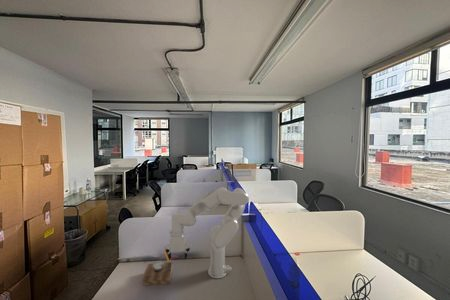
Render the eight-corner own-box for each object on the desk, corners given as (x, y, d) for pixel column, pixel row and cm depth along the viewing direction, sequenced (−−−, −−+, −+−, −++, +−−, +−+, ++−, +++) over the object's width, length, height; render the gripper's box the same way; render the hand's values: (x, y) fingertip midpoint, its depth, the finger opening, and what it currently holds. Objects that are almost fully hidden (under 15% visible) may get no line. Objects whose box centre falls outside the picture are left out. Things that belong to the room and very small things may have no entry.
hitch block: (172, 271, 142) (172, 255, 141) (170, 283, 130) (170, 266, 129) (147, 272, 140) (147, 256, 139) (143, 285, 128) (142, 268, 127)
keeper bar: (169, 261, 137) (171, 260, 137) (168, 264, 134) (170, 263, 134) (164, 249, 136) (166, 248, 136) (163, 251, 133) (165, 250, 133)
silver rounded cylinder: (164, 273, 138) (164, 260, 138) (162, 280, 132) (162, 266, 132) (154, 274, 138) (154, 261, 137) (152, 280, 132) (152, 266, 131)
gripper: (162, 236, 130) (163, 262, 131) (191, 234, 132) (191, 261, 133) (164, 230, 137) (164, 255, 138) (191, 229, 139) (191, 254, 140)
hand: (177, 258), depth 136 cm, fingers open, 9 cm apart
